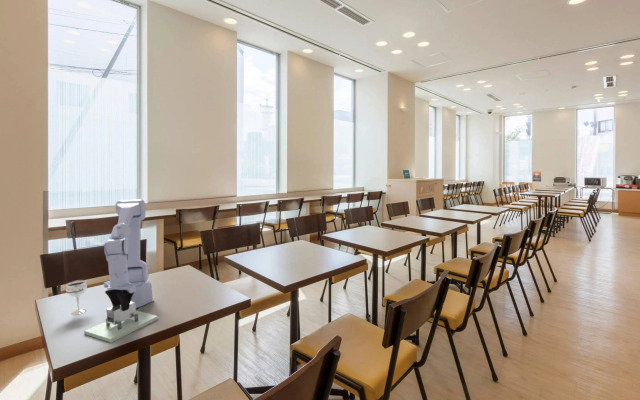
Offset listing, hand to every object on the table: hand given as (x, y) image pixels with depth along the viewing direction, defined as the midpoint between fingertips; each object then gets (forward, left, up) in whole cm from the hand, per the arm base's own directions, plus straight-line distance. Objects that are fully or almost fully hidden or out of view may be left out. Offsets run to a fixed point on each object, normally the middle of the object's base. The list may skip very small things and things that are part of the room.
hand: (121, 308), depth 118 cm
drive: (0, 0, -4) cm, 4 cm away
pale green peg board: (0, 0, -7) cm, 7 cm away
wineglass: (-1, -28, -7) cm, 29 cm away
